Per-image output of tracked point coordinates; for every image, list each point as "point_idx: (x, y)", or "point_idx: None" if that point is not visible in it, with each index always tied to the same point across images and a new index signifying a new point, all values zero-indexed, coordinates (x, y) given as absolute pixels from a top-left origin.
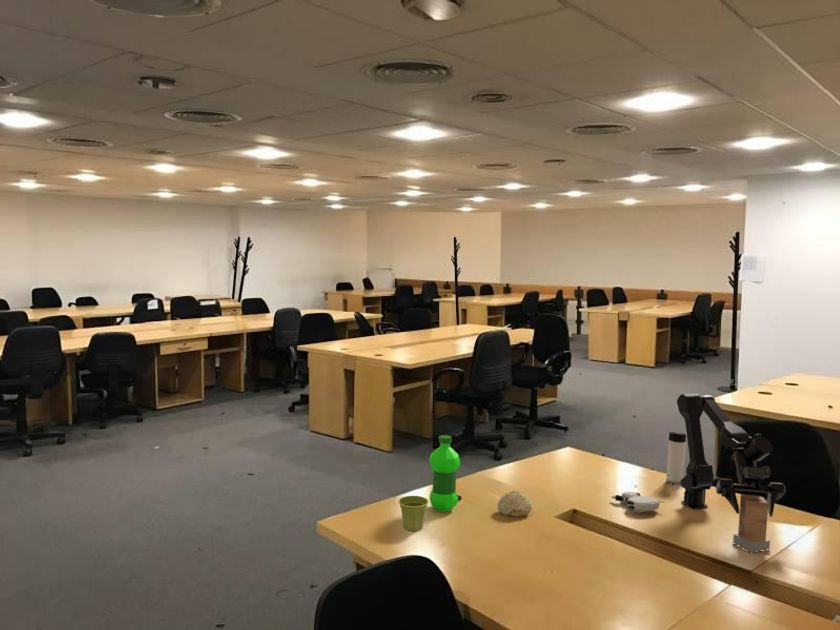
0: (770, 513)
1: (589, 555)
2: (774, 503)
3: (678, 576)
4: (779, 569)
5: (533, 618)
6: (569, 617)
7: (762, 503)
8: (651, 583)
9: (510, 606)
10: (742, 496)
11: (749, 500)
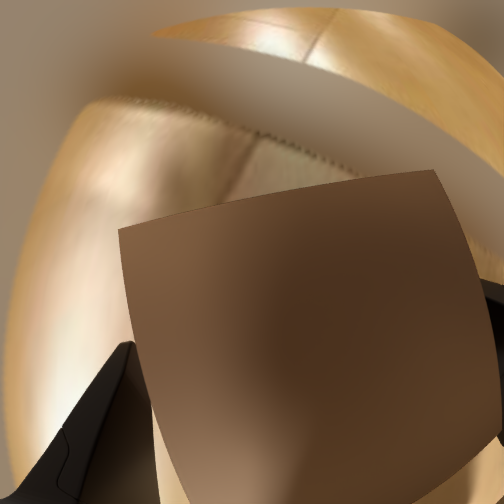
0: (133, 358)
1: (499, 128)
2: (55, 440)
3: (390, 79)
4: (168, 178)
5: (430, 24)
6: (415, 22)
7: (219, 214)
8: (406, 61)
9: (452, 38)
10: (497, 361)
11: (420, 225)
